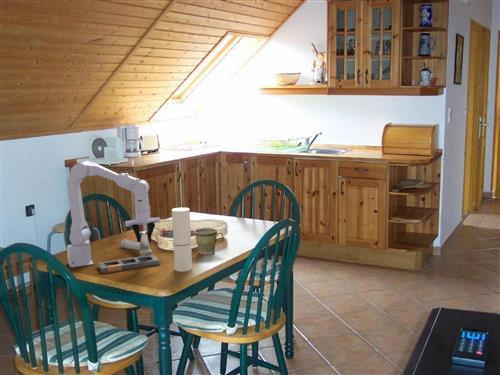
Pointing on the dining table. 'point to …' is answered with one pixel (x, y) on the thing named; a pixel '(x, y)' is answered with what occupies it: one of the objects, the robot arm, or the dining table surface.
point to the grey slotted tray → (128, 263)
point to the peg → (144, 240)
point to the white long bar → (134, 247)
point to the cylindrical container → (182, 239)
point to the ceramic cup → (206, 240)
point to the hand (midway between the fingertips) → (143, 241)
